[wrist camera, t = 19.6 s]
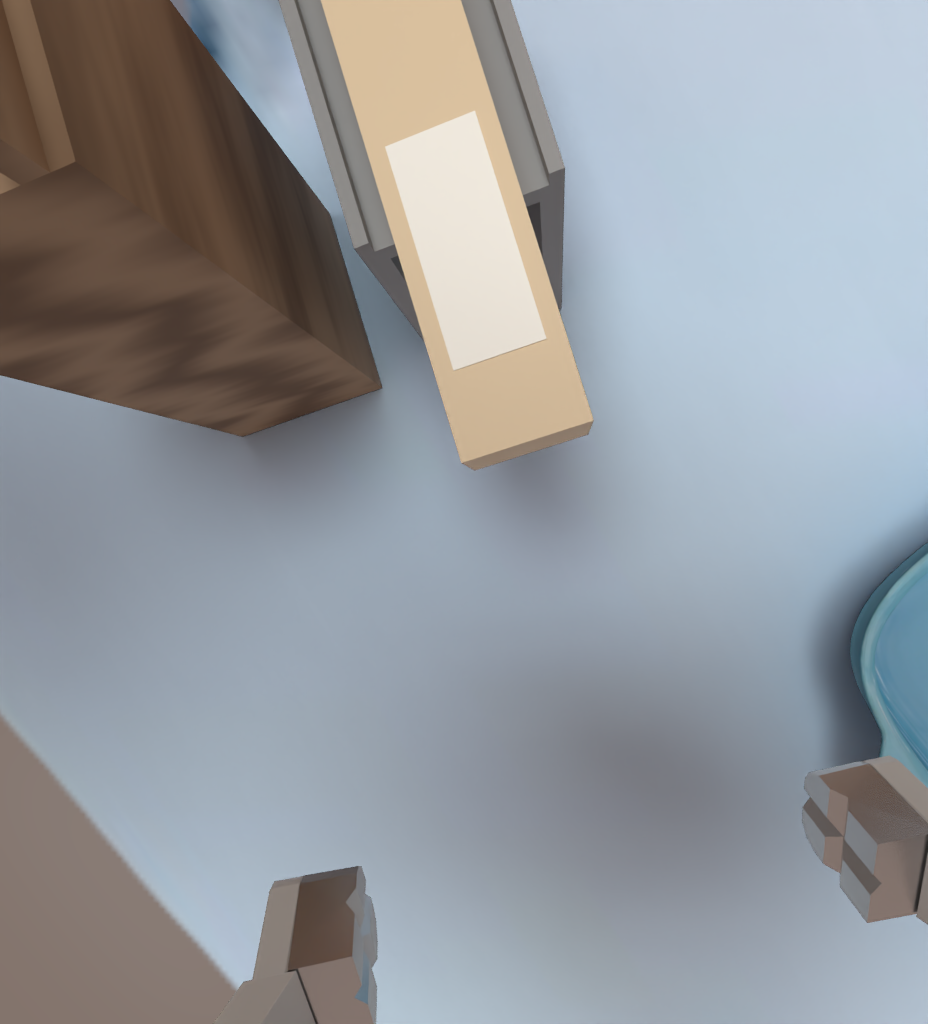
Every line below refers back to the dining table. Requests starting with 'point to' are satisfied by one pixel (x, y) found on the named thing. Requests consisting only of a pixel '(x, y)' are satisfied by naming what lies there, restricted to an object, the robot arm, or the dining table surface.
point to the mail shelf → (160, 229)
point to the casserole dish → (897, 662)
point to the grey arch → (514, 109)
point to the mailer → (460, 227)
